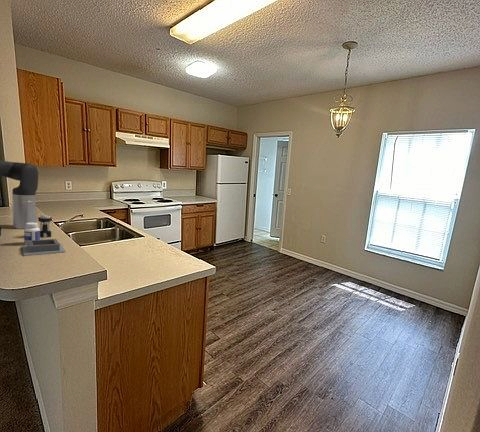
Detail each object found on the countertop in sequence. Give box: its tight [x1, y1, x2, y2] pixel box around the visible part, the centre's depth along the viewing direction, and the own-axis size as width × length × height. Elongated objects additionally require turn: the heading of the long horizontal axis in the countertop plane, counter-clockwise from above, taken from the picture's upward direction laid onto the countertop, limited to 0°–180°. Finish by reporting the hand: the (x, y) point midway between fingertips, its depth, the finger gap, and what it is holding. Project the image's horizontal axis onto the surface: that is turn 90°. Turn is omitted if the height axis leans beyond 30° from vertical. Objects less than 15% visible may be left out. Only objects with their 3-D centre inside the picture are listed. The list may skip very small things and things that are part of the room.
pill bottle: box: [23, 222, 41, 246], centre depth 111 cm, size 5×5×9 cm
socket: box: [21, 238, 66, 257], centre depth 105 cm, size 13×13×3 cm
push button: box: [37, 214, 53, 238], centre depth 122 cm, size 7×5×10 cm
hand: (1, 231), depth 104 cm, fingers open, 8 cm apart
